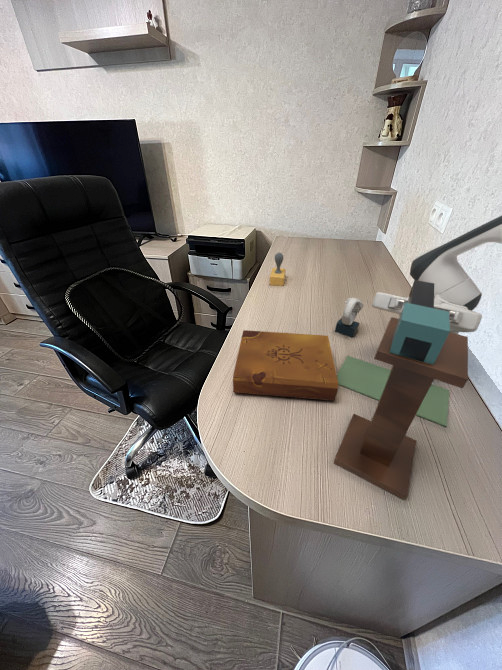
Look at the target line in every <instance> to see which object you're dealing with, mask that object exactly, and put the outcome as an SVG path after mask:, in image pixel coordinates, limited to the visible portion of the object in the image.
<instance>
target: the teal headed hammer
mask: <svg viewBox="0 0 502 670" xmlns="http://www.w3.org/2000/svg"><path fill="white" fill-rule="evenodd" d="M408 297H409V298H408V303H405V304H404V306H403V309H402V312H401V315H400V316H399V317H398V319H399V320H398V323H397V326H396V329H395V332H394V335H393V339H392V344H391V348H390V353H393V354H396V355H400V356H403V357H407V358H411V359H414V360H418V361H421V362H425V363H428V364H432V365H434V363H435V361H436V359H437V357H438V355H439V353H440V351H441V349H442V347H443V345H444V343H445V341H446V339H447V337H448V335H449V333H450V322H449V312H448V311H444V310H439V309H434V283H429V282H424V281H418V280H414V279H413V283H412V286H411V288H410V291H409V294H408Z"/></svg>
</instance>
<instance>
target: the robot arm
mask: <svg viewBox="0 0 502 670" xmlns="http://www.w3.org/2000/svg"><path fill="white" fill-rule="evenodd" d="M489 243H497V244H501V245H502V215H500V216H498V217H495V218H494V219H491V220H489V221H488V222H486V223H483V224H481V225H479V226H477V227H475V228H474V229H471V230H470V231H467V232H466V233H463V234H462V235H459V236H457V237H456V238H453V239H451V240H450V241H448V242H445V243H443V244H441V245H440V246H436V247H433V248H430V249H428V250H426V251H424V252H421V253H420V254H418V255H417V256H416V257H415V258H414V259H413V260H412V261H411V265H410V270H409V275H410V277H411V278H412V279H413V281H414V280H418V281H424V282H429V283H434V309H439V310H444V311H448V312H449V322H450V332H451V333H455V334H458V335H459V333H475V332H476V331H477V330H478V328H479V326H480V324H481V321H482V319H483V315H482V313H481V312H478V311H474V310H475V309H476V308H477V307H478V306H479V304H480V302H481V299H482V296H483V293H482V292H481V290H480V289H479V287H478V286H477V284H476V283H475V282H474V281H473V279H472V278H471V277H470V276H469V275H468V273H467V272H466V270H465V269H464V268H463V267H462V265H461V264H460V262H459V261H458V256H460V255H462V254H464V253H466V252H470V251H472V250H473V249H475V248H477V247H480V246H482V245H485V244H489ZM408 298H409V296H407V297H405V296H400V295H397V294H391V293H386V292H382V291H381V292H380V291H377V292H375V295H374V298H373V301H372V305H371V306H372V308H375V309H377V310H380V311H385V312H388V313H392V314H397V315H399V317H400V315H401V312H402V309H403V306H404V304H405V303H408Z"/></svg>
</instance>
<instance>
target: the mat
mask: <svg viewBox="0 0 502 670" xmlns="http://www.w3.org/2000/svg"><path fill="white" fill-rule="evenodd" d="M390 371H391V369H388V368H386V367H383V366H381V365H377V364H374V363H371V362H368V361H365V360H362V359H359V358H356V357H354V356H350V355H347V356H346V358H345V359H344V361H343V363H342V365H341V366H340V368H339V370H338V372H337V373H336V374H337V379H338V386H339V387H343V388H345V389H347V390H350V391H353V392H355V393H358V394H360V395H362V396H366V397H367V398H371V399H373V400H375V401H378V402H379V400H380V397H381V394H382V392H383V389H384V387H385V384H386V381H387V379H388V376H389V374H390ZM449 399H450V389H447V388H445V387H442V386H439V385H436V384H433V383H432V384H431V386H430V388H429V390H428V392H427V394H426V396H425V398H424V400H423V402H422V404H421V406H420V408H419V410H418V411H417V413H416V415H415V417H419V418H421V419H423V420H425V421H426V420H427V421H429V422H431V423H433V424H437V425H439V426H442V427H444V428H447V427H448V415H449V402H450V401H449Z"/></svg>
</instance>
